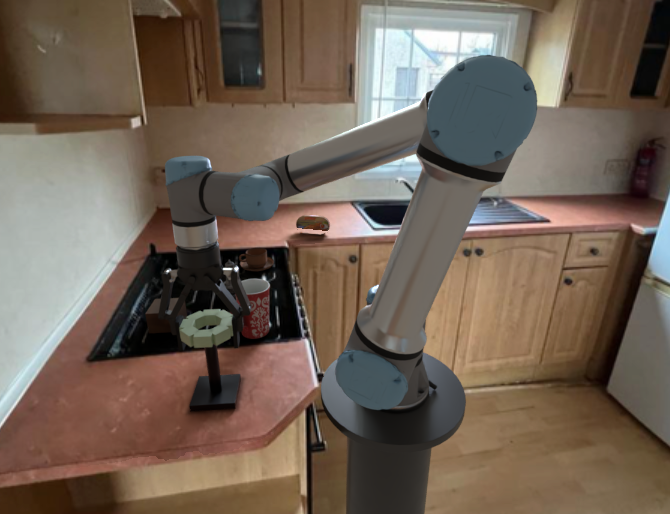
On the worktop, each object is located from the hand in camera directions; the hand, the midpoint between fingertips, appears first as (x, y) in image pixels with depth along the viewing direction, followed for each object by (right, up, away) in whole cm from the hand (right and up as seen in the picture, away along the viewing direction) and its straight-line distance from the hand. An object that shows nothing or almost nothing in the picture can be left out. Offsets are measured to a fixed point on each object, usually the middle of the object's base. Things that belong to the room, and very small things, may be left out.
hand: (210, 345), depth 83 cm
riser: (-20, -2, +30) cm, 36 cm away
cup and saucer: (-3, +11, +65) cm, 66 cm away
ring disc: (0, +3, -1) cm, 3 cm away
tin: (+15, +24, +98) cm, 103 cm away
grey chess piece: (-7, +4, +46) cm, 47 cm away
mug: (+3, -4, +25) cm, 26 cm away
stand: (0, -11, +4) cm, 12 cm away
